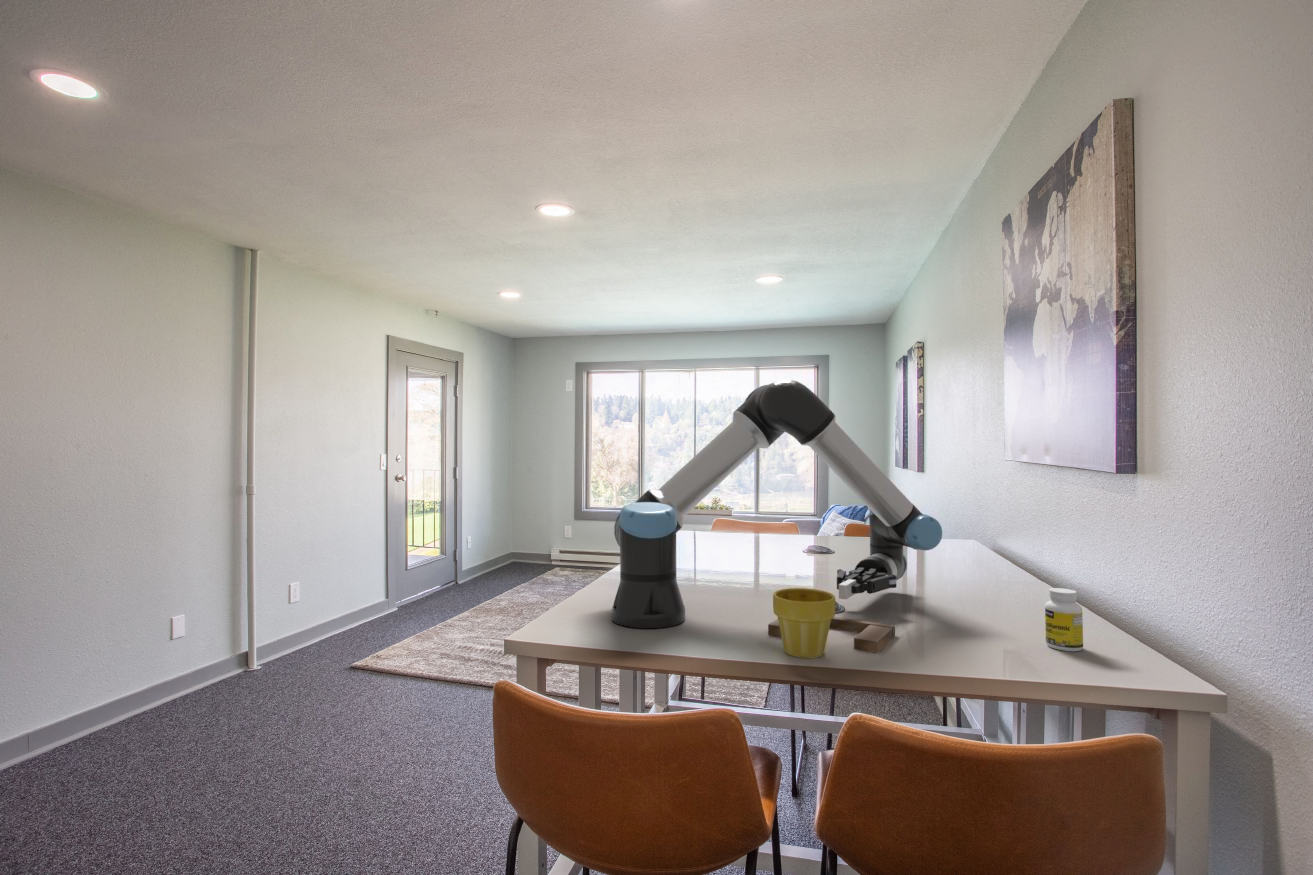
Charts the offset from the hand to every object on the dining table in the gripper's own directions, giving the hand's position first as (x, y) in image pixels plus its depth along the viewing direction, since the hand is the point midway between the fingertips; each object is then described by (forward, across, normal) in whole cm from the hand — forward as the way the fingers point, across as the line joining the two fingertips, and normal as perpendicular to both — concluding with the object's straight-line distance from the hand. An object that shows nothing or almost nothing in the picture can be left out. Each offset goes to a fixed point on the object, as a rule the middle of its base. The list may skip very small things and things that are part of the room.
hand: (842, 591), depth 120 cm
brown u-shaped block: (+8, 0, -7) cm, 10 cm away
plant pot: (+19, 0, -7) cm, 20 cm away
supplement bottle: (-8, -36, -7) cm, 37 cm away
